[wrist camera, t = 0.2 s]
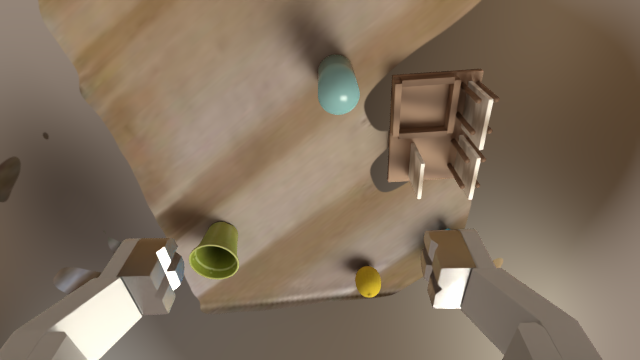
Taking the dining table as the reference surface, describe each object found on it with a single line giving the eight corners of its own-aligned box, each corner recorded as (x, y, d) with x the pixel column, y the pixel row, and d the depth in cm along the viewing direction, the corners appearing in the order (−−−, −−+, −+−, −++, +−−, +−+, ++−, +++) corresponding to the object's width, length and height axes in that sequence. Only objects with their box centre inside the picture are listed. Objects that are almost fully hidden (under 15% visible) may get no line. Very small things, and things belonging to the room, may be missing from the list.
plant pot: (235, 210, 72) (226, 240, 64) (252, 243, 77) (246, 274, 69) (193, 220, 73) (179, 250, 66) (213, 251, 78) (202, 283, 71)
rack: (392, 75, 56) (403, 95, 49) (481, 68, 56) (506, 88, 49) (387, 179, 68) (396, 208, 60) (461, 174, 67) (479, 203, 60)
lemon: (382, 263, 80) (388, 292, 74) (370, 278, 83) (374, 307, 76) (361, 255, 79) (365, 284, 72) (349, 271, 82) (352, 300, 75)
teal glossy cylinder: (316, 55, 55) (316, 76, 46) (352, 53, 55) (359, 73, 46) (319, 91, 58) (319, 115, 50) (353, 88, 58) (359, 113, 49)
